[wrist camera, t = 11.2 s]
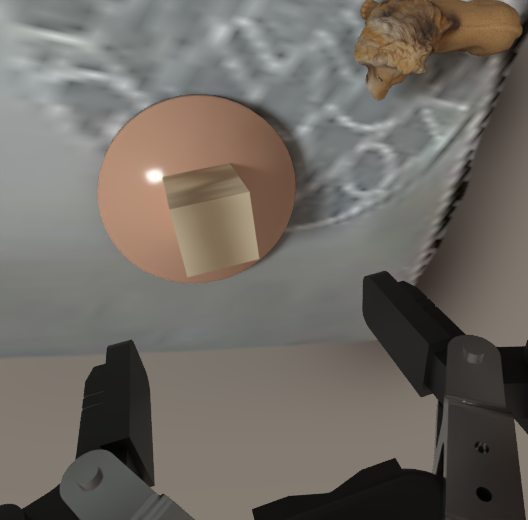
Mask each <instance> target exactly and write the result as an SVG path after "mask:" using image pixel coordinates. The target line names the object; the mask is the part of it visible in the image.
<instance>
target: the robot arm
mask: <svg viewBox="0 0 528 520" xmlns="http://www.w3.org/2000/svg"><path fill="white" fill-rule="evenodd" d="M362 310H363V316H364V319H365V322H366V324H367V326H368V327H369V328H370V330H371V331H372V333H373V334H374V335H375V337H376V338H377V339H378V341H379V342H380V343H381V344H382V346H383V347H384V349H385V350H386V351H387V352H388V354H389V355H390V356H391V358H392V359H393V361H394V362H395V363H396V365H397V366H398V367H399V369H400V370H401V371H402V373H403V374H404V375H405V377H406V378H407V379H408V381H409V382H410V383H411V385H412V386H413V387H414V389H415V390H416V391H417V393H418V394H419V395H420V397H424V396H426V395H430V394H434V395H435V396H436V398H437V399H438V401H437V411H436V431H435V448H434V461H433V469H432V473H430V472H426V471H422V470H416V469H401V467H400V465H399V464H398V462H397V460H396V459H395V458H393V459H391V460H388V461H385V462H382V463H380V464H377V465H374V466H372V467H368V468H366V469H363V470H361V471H359V472H358V473H357V474H355V475H354V476H353V477H351V478H350V479H349V480H347V481H346V482H344V483H343V484H342V485H340V486H339V487H338V488H336V489H335V490H333V491H332V492H330V493H324V494H311V495H298V496H288V497H285V498H282V499H279V500H277V501H274V502H271V503H268V504H265V505H263V506H260V507H257V508H254V509H252V511H253V515H254V520H526V517H525V509H524V500H523V492H522V483H521V475H520V466H519V458H518V450H517V441H516V433H515V423H514V419H515V420H516V421H517V422H518V423H519V425H520V426H521V427H522V428H523V429H524V430H525V431H526V433H527V434H528V340H527V343H526V346H524V347H523V346H522V347H495V345H493V344H492V343H491V342H489V341H487V340H486V339H484V338H481V337H478V336H474V335H466V334H465V333H464V332H462V331H461V330H460V329H459V328H458V327H457V326H456V325H455V324H454V323H453V322H452V321H451V320H450V319H449V318H448V317H447V316H446V315H445V314H444V313H443V312H442V311H441V310H440V309H439V308H437V307H435V304H434V303H433V302H432V301H431V300H430V299H427V297H426V296H425V295H424V294H423V293H422V292H421V291H420V290H419V289H418V288H417V287H415V286H413V285H411V284H409V283H407V282H405V281H401V282H397V281H396V280H395V279H394V278H393V277H392V276H391V275H390V274H389V273H388V272H387V271H382V272H379V273H375V274H371V275H368V276H365V277H364V279H363V306H362ZM82 409H83V411H82V413H81V421H80V429H79V437H78V445H77V454H76V459H75V461H74V462H73V463H72V464H71V465H70V466H69V467H68V468H67V470H66V471H65V473H64V475H63V477H62V479H61V483H60V484H59V485H58V486H57V487H55V488H54V489H53V490H51V491H50V492H49V493H47V494H45V495H44V496H42V497H41V498H39V499H38V500H36V501H34V502H33V503H31V504H30V505H28V506H26V507H25V508H23V509H21V508H20V507H18V506H17V505H14V504H4V505H0V520H195V519H194V518H192V517H191V516H190V515H189V514H188V513H187V512H185V511H184V510H183V509H182V508H181V507H180V506H179V505H178V504H176V503H175V502H174V501H173V500H172V499H170V498H169V497H168V496H166V495H165V494H162V495H159V494H157V493H156V492H155V491H154V490H153V489H151V488H150V487H152V486H154V463H153V443H152V422H151V402H150V387H149V381H148V377H147V374H146V371H145V368H144V366H143V363H142V361H141V359H140V356H139V354H138V351H137V349H136V347H135V344H134V342H133V341H132V340H128V341H124V342H121V343H117V344H114V345H110V346H108V347H107V353H106V364H103V365H99V366H96V367H94V368H93V369H92V371H91V373H90V375H89V376H88V378H87V380H86V381H85V389H84V399H83V406H82Z"/></svg>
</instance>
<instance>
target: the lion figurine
mask: <svg viewBox="0 0 528 520" xmlns="http://www.w3.org/2000/svg"><path fill="white" fill-rule="evenodd" d="M361 17H362V18H363V19H367V20H366V21H365V24H366V27H365V28H364V29H363V31H362V33H361V35H360V36H359V37H358V42H357V43H356V45H355V52H354V58H355V60H356V62H358V63H359V64H361V65H365V66H367V68H368V73H367V75H366V79H365V82H366V85H367V90H368V91H369V92H370V93H371V94H372V95H373V97H374V98H375V99H377V100H382V99H384V97H385V96H386V94H387V92H388V90H389V89H390V88H391V86H392V85H394V84H398V83H401V82H402V81H403V80H404V79H405V77H406V76H407V75H409V74H416V73H417V74H421V73H425V72H426V68H425V65H424V63H425V61H426V59H427V57H428V56H429V55H430V54H431V53H444V52H450V51H454V50H458V49H459V50H460V51H462V52H465V51H467V52H468V53H470V54H472V55H476V56H487V55H492V54H496V53H500V52H503V51H506V50H508V49H509V48H510V47H511V46H512V44H513V42H514V40H515V39H516V38H518V37H519V36H520V35H521V34H522V26H521V25H520V16H519V14H518V12H517V11H516V10H515V9H514V8H513V7H511V6H510V5H508V4H506V3H504V2H500V1H493V0H473V1H469V2H465V1H460V0H431V1H429V0H384V1H383V2H381V3H380V4H378V3H376V2H374V1H373V0H366V1H365V2H364V3H363V5H362V7H361Z"/></svg>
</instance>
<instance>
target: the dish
mask: <svg viewBox="0 0 528 520" xmlns="http://www.w3.org/2000/svg"><path fill="white" fill-rule="evenodd" d="M227 163H230V164H231V166H232V167H233V169H234V170H235V172H236V173H237V174H238V176H239V177H240V179H241V180H242V182H243V183H244V184H245V186H246V187H247V189H248V190H249V192H250V198H251V205H252V212H253V219H254V226H255V233H256V240H257V247H258V254H259V259H257V260H253V261H249V262H246V263H242V264H238V265H234V266H230V267H226V268H222V269H218V270H214V271H210V272H206V273H202V274H199V275H195V276H191V277H187V274H186V270H185V266H184V263H183V259H182V255H181V251H180V248H179V244H178V240H177V236H176V233H175V229H174V225H173V221H172V218H171V214H170V210H169V206H168V201H167V196H166V192H165V187H164V182H163V178H162V177H164V176H169V175H174V174H179V173H184V172H188V171H193V170H198V169H203V168H208V167H212V166H217V165H222V164H227ZM295 194H296V180H295V173H294V168H293V164H292V160H291V157H290V155H289V153H288V150H287V148H286V146H285V144H284V143H283V141H282V139H281V138H280V136H279V135H278V134H277V133H276V131H275V130H274V129H273V128H272V127H271V126H270V125H269V124H268V123H267V122H266V121H265V120H264V119H263V118H262V117H260V116H259V115H258V114H256V113H255V112H253V111H252V110H250V109H249V108H247V107H245V106H243V105H241V104H239V103H237V102H235V101H232V100H229V99H226V98H223V97H218V96H213V95H204V94H191V95H180V96H176V97H172V98H168V99H165V100H162V101H160V102H157V103H155V104H152V105H151V106H149V107H147V108H145V109H144V110H142V111H140V112H139V113H138V114H136V115H135V116H134V117H133V118H131V119H130V120H129V121H128V122H127V123H126V124H125V125H124V126H123V127H122V128H121V129H120V130H119V132H118V133H117V135H116V136H115V137H114V139H113V140H112V142H111V144H110V145H109V147H108V149H107V151H106V153H105V156H104V159H103V162H102V165H101V170H100V175H99V181H98V204H99V211H100V214H101V218H102V222H103V224H104V226H105V229H106V231H107V233H108V235H109V237H110V238H111V240H112V241H113V243H114V244H115V246H116V247H117V248H118V249H119V250H120V252H121V253H122V254H123V255H124V256H125V257H126V258H127V259H129V260H130V261H131V262H132V263H133V264H135V265H136V266H138V267H139V268H141V269H142V270H144V271H146V272H148V273H150V274H152V275H154V276H157V277H160V278H162V279H166V280H170V281H174V282H181V283H207V282H213V281H218V280H222V279H225V278H228V277H231V276H234V275H236V274H238V273H241V272H242V271H244V270H246V269H248V268H249V267H251V266H252V265H254V264H255V263H257V262H258V261H259V260H261V259H262V258H263V257H264V256H265V255H266V254H267V253H268V252H269V251H270V250H271V249H272V248H273V247H274V246H275V244H276V243H277V242H278V240H279V239H280V237H281V236H282V234H283V232H284V230H285V229H286V227H287V225H288V222H289V220H290V217H291V214H292V211H293V207H294V202H295Z"/></svg>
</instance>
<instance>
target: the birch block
mask: <svg viewBox="0 0 528 520" xmlns="http://www.w3.org/2000/svg"><path fill="white" fill-rule="evenodd" d="M162 178H163V182H164V187H165V192H166V196H167V201H168V206H169V210H170V214H171V218H172V221H173V225H174V229H175V233H176V236H177V240H178V244H179V248H180V251H181V255H182V259H183V263H184V266H185V270H186V274H187V277H191V276H195V275H199V274H202V273H206V272H210V271H214V270H218V269H222V268H226V267H230V266H234V265H238V264H242V263H246V262H249V261H253V260H257V259H259V254H258V247H257V240H256V233H255V226H254V219H253V212H252V205H251V198H250V192H249V190H248V189H247V187H246V186H245V184H244V183H243V182H242V180H241V179H240V177H239V176H238V174H237V173H236V172H235V170H234V169H233V167H232V166H231V164H230V163H227V164H222V165H217V166H212V167H208V168H203V169H198V170H193V171H188V172H184V173H179V174H174V175H169V176H164V177H162Z"/></svg>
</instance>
